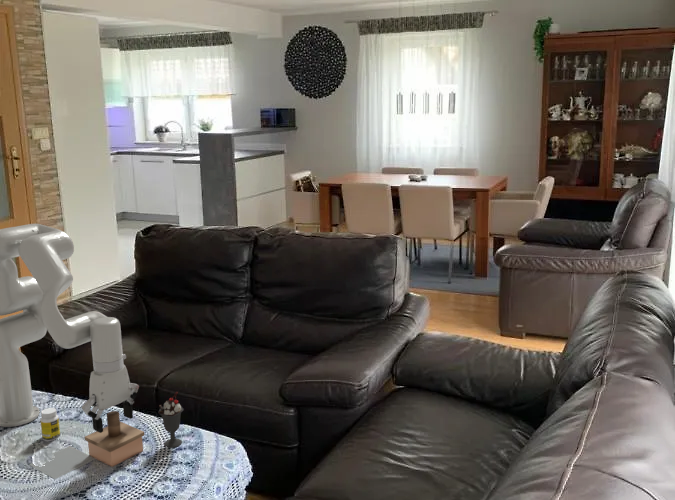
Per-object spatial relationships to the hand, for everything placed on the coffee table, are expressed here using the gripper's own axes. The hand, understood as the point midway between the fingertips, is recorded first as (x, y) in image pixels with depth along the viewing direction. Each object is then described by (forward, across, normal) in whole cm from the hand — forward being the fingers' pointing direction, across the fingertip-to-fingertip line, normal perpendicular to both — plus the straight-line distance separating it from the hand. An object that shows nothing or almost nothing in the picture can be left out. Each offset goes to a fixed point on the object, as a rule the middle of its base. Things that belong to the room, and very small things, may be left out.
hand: (113, 423), depth 181 cm
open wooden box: (+9, 0, 0) cm, 9 cm away
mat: (+9, +11, -8) cm, 16 cm away
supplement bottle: (+9, +5, -23) cm, 25 cm away
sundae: (+9, -13, +8) cm, 18 cm away
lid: (+4, 0, 0) cm, 4 cm away
